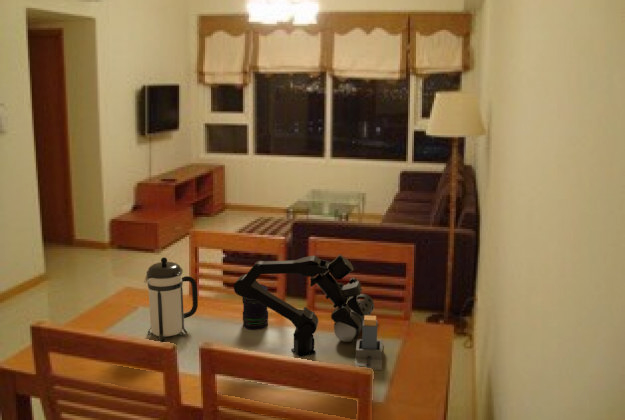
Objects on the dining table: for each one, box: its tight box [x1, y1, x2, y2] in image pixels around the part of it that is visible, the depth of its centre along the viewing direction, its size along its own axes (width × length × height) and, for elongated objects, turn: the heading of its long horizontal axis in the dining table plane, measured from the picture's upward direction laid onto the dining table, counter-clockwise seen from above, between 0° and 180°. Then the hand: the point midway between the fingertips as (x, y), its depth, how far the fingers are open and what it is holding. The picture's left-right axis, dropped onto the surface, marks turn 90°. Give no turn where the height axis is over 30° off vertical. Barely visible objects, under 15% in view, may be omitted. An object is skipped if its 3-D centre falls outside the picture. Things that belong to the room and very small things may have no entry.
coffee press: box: [144, 257, 199, 342], centre depth 222 cm, size 17×16×30 cm
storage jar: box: [241, 284, 269, 331], centre depth 232 cm, size 10×10×15 cm
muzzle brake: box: [333, 293, 375, 343], centre depth 227 cm, size 10×28×10 cm, turn 162°
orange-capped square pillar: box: [361, 315, 378, 350], centre depth 206 cm, size 5×5×13 cm
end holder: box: [354, 338, 384, 371], centre depth 207 cm, size 9×20×4 cm, turn 173°
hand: (360, 321), depth 205 cm, fingers open, 9 cm apart
